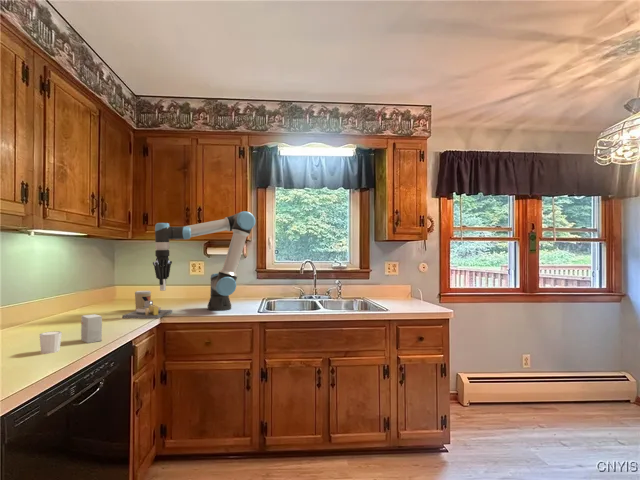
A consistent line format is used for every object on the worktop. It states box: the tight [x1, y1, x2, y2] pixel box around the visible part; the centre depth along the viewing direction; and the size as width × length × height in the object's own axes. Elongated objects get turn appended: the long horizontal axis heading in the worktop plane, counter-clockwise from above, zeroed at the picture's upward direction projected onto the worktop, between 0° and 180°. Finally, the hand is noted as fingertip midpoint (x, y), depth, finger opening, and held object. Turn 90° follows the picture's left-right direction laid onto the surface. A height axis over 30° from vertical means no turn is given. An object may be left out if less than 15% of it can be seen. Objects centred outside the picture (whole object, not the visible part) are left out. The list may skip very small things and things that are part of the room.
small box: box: [80, 313, 103, 344], centre depth 159 cm, size 8×6×10 cm
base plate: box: [122, 308, 173, 319], centre depth 219 cm, size 20×20×6 cm
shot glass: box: [39, 330, 63, 355], centre depth 142 cm, size 7×7×7 cm
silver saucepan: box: [135, 300, 162, 315], centre depth 217 cm, size 20×13×6 cm, turn 42°
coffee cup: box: [134, 290, 152, 310], centre depth 235 cm, size 9×9×12 cm
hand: (162, 290), depth 215 cm, fingers closed
